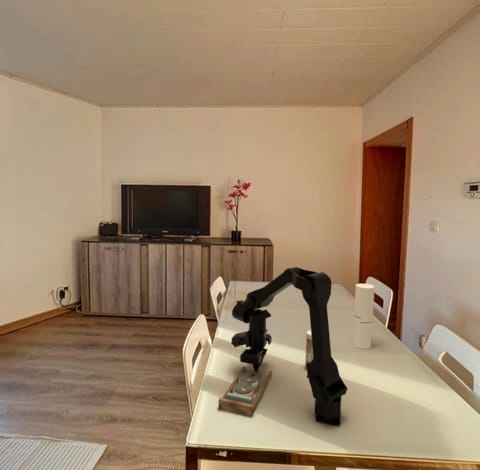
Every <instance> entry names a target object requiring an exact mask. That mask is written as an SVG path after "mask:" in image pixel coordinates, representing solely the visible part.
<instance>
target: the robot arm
mask: <svg viewBox="0 0 480 470" xmlns="http://www.w3.org/2000/svg"><path fill="white" fill-rule="evenodd" d="M291 285H292V286H293V287H294V288H296V289H297V290H300V291H301V293H302V297H303V299H304V301H305V302H306V304H307V305H308V313H309V321H310V322H309V323H310V330H311V335H312V347H313V359H312V361H311V362H308V363H307V364H306V368H307V369H306V371H307V375H306V379H308V383H309V385H310V389H311V392H312V397H313V399H314V415H315V419H314V420H315V422H318V423H323V424H328V425H332V426H337V427H339V426H341V420H342V419H341V418H342V411H341V410H342V397H343V396H345V395H346V394H347V392H348V387H347V385H346V384H345V382H344V381H343V379H342V378H341V375H340V372H339V371H340V370H339V366H338V363H337V362H336V361H335V360H334V358H333V357H332V350H331V349H332V348H331V339H330V338H331V337H330V325H329V316H328V315H329V313H328V303H329V300H330V297H331V295H332V279H331V277H330V276H329V275H328V274H327V273H325V272H322V271H321V272H316V271H313V270H309V269H303V268H301V267H298V266H294V267H289V268H286V269H284V271H283V272H282V273H280V274H279V275H278V276H277V277H275V278H274V279H272V280H271V281H270V282H269V283H267V284H266V285H264V286H263V287H261V288H259V289H255V290H253V291H250V292H248V293H247V294H246V298H245V300H241V299H240V300H236V304H235V305H234V306H233V309H232V310H231V315H232V318H233V319H235V320H238V321H239V322H242V323H244V324H248V330H247V331H242V332H236V333H235V334H234V335H233V336H232V337H231V343H230V344H231V345H232V346H233V347H234V348H238V347H240V346H241V347H242V346H245V348H246V349H244V350H243V351H242V352H241V354H240V355H239V361H240V363H244V364H249V365H252V368H253V370H254V371H253V372H255V373H258V372H259V370H260V368H261V365H262V364H263V360H264V358H265V356H266V355H267V352H268V348H265V347H266V345H269V346H270V345H271V344H272V340H273V339H272V338H273V337H272V336H271V334H270V333H268V328H267V319H269V318H271V317H272V314H271V313H270V312H269V311H268V309H262V308H265V307H268V306H269V305H271V303H272V302H273V301H274V298H275V297H276V296H277V295H278V294H280V293H281V292H282V291H284V290H285V289H287V288H289V287H290V286H291Z"/></svg>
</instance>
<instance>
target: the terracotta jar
mask: <svg viewBox="0 0 480 470" xmlns="http://www.w3.org/2000/svg"><path fill="white" fill-rule="evenodd" d="M233 394H238V395H243V396H248V397H252V402H253V401H254V393H253V386H252V384H250V383H248V382H237V383H236V384H234V386H233Z"/></svg>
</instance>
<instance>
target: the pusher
mask: <svg viewBox="0 0 480 470" xmlns="http://www.w3.org/2000/svg"><path fill="white" fill-rule="evenodd" d="M227 399H228V400H233V401H238V402H242V403H247V404H252V403H253V401H252V397H248V396H243V395H238V394H233V393H227Z"/></svg>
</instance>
